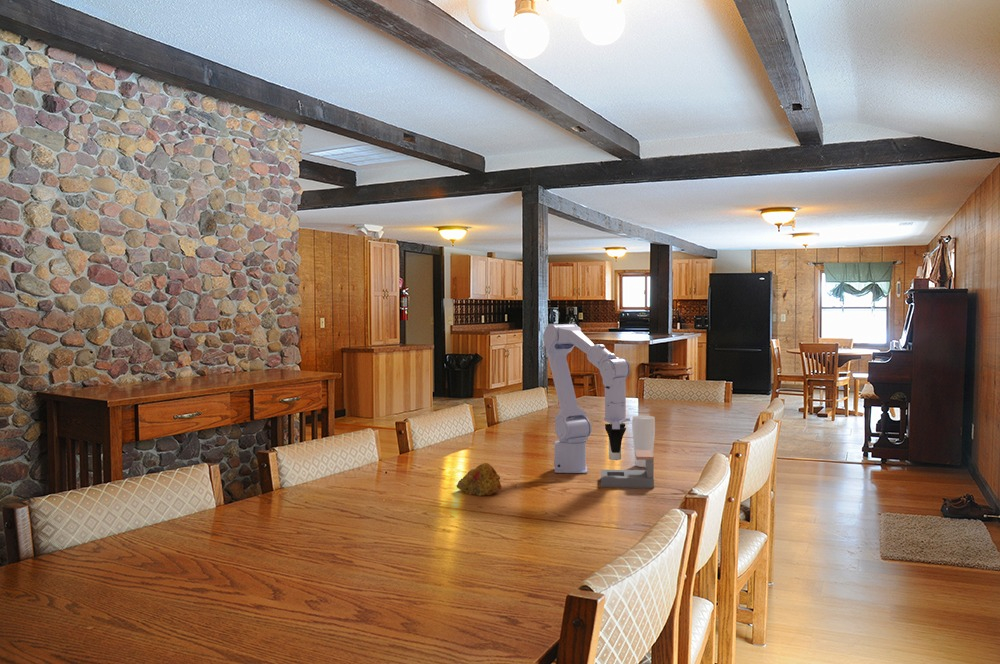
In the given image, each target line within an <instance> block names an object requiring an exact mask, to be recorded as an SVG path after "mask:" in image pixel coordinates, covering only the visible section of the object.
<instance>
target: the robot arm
mask: <svg viewBox="0 0 1000 664" xmlns="http://www.w3.org/2000/svg"><path fill="white" fill-rule="evenodd" d="M542 339H543V343H544V347H545V351H546V354H547V358H548V363H549V367H550V371H551V375H552V380H553V384H554V387H555V388H554V389H555V392H556V393H555V394H556V397H557V401H558V405H559V409H560V411H559V412H557V414H556V415H555V417H554V422H555V428H554V429H555V435H556V437H557V438H558V439H559V440H554V459H553V466H554V473H557V474H561V473H563V474H588V465H587V446H586V445H587V443H586V441H588V440H589V437H590V436H591V434H592V430H593V429H592V428H593V427H592V424H591V423H592V422H591V421H590V420H589V418H588V415H587V412H586V411H585V410H584V409H582V408H581V407H579V405H578V401H577V397H576V393H575V388H574V384H573V381H572V376H571V372H570V367H569V364H568V363H569V362H568V360H567V356H568V354H569V353H571V352H572V351H573V349H575V348H574V347H576V348H578V349H579V350H581V352H583V353H584V354H586V359H587V361H589V362H590V364H592V365H593V366H594V367H596V368H597V369H598V370H599V373H600V377H601V378H602V385H603V386H604V417H603V421H604V422H605V424H604V427H605V428H604V429H605V431H606V433H607V436H608V441H609V440H610V446H611V451H612V453H620V449H621V450H622V441H623V438H624V435H625V433H626V431H627V428H626V423H625V422H630V421H631V418H630V417H627V414H626V413H627V410H626V409H627V408H626V407H627V406H626V405H627V404H626V403H627V401H626V394H627V392H626V391H627V387H626V385H627V383H626V379H627V378H628V377H629V376H630V372H631V366H630V363H629V361H628V360H627V359H626V358H625V357H617V356H616V355H615V353H613V352H611V351H610V350H608V349H607V348H606V346H605V345H604V344H603V343H602V344H598V343H597V344H594V343H593V341H592V340H590V339H589V338H588V336H587V335H585V334H584V333H583V332H582V328H581V327H580V326H578V325H577V324H576V323H574V322H573V323H563V324H561V323H560V324H553V323H549V324H547V325H546V326H545V328H544V331H543V333H542Z"/></svg>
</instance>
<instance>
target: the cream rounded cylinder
mask: <svg viewBox="0 0 1000 664" xmlns="http://www.w3.org/2000/svg"><path fill="white" fill-rule="evenodd" d="M631 420H632V426H631V427H632V429H631V430H632V440H633V441H632V442H633V451H634V465H635V466H636V467H637V468H646V460H637V459H636V455H635V450H651V451H652V454H653V455H654V448H655V447H654V445H655V436H656V435H655V434H656V433H655V432H656V419H655V416H653V415H634V416H632V419H631Z"/></svg>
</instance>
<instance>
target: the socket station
mask: <svg viewBox="0 0 1000 664" xmlns="http://www.w3.org/2000/svg"><path fill="white" fill-rule="evenodd" d="M635 455H636V459H637V460H646V467H645V470H644V469H643V470H640V469H639V470H638V469H600V487H601V488H629V489H631V488H632V489H633V488H637V489H640V488H641V489H654V488H655V478H654V474H655V473H654V465H655V463H654V460H655V459H654V453H653V454H652V451H651V450H635V454H634V456H635Z"/></svg>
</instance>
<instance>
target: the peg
mask: <svg viewBox="0 0 1000 664" xmlns="http://www.w3.org/2000/svg"><path fill="white" fill-rule="evenodd" d="M608 459H609V460H612V461H620V460H622V448H621V449H620V453H612V451H611V446H610V440H609V439H608Z"/></svg>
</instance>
